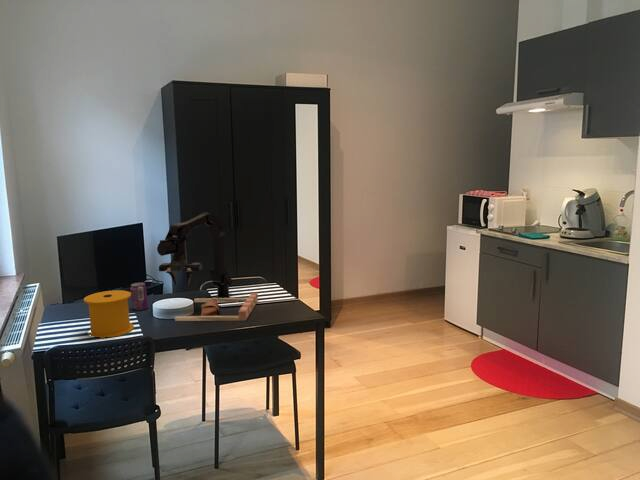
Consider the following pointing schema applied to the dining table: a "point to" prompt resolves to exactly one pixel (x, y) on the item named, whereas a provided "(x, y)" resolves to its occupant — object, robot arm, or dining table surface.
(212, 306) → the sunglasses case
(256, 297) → the guide channel
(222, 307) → the dining table surface
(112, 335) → the spool
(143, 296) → the beverage can
